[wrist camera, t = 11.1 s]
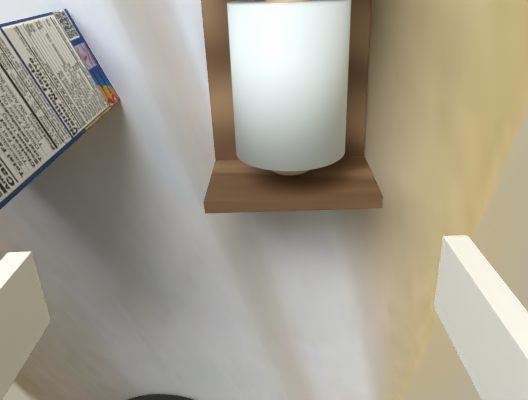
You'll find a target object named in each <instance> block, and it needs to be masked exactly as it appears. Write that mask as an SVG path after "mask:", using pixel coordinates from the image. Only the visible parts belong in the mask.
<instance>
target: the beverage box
mask: <svg viewBox="0 0 528 400" xmlns="http://www.w3.org/2000/svg"><path fill="white" fill-rule="evenodd" d="M119 100H120V99H119V97H118V95H117V94H116V92H115V90H114V89H113V87H112V85H111V84H110V82H109V80H108V79H107V77H106V75H105V74H104V72H103V70H102V69H101V67H100V65H99V63H98V62H97V60H96V58H95V57H94V55H93V53H92V52H91V50H90V48H89V47H88V45H87V43H86V42H85V40H84V38H83V37H82V35H81V33H80V32H79V30H78V28H77V26H76V25H75V23H74V21H73V20H72V18H71V16H70V15H69V13H68V11H67V10H66V9H63V10H59V11H55V12H50V13H46V14H42V15H38V16H34V17H29V18H25V19H21V20H17V21H12V22H8V23H4V24H0V209H1V208H2V207H4V206H5V205H6V204H7V203H8V202H9V201H10V200H11V199H12V198H13V197H14V196H16V195H17V194H18V193H19V192H20V191H21V190H22V189H23V188H24V187H25V186H27V185H28V184H29V183H30V182H31V181H32V180H33V179H34V178H35V177H36V176H37V175H39V174H40V173H41V172H42V171H43V170H44V169H45V168H46V167H47V166H48V165H49V164H51V163H52V162H53V161H54V160H55V159H56V158H57V157H58V156H59V155H60V154H61V153H63V152H64V151H65V150H66V149H67V148H68V147H69V146H70V145H71V144H72V143H74V142H75V141H76V140H77V139H78V138H79V137H80V136H81V135H82V134H83V133H84V132H86V131H87V130H88V129H89V128H90V127H91V126H92V125H93V124H94V123H95V122H96V121H98V120H99V119H100V118H101V117H102V116H103V115H104V114H105V113H106V112H107V111H108V110H110V109H111V108H112V107H113V106H114V105H115V104H116V103H117V102H118V101H119Z"/></svg>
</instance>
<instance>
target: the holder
mask: <svg viewBox="0 0 528 400" xmlns="http://www.w3.org/2000/svg"><path fill="white" fill-rule="evenodd" d="M231 1H236V0H201V6H202V17H203V28H204V38H205V49H206V60H207V71H208V82H209V93H210V104H211V115H212V125H213V136H214V147H215V158H216V161H215V165H214V168H213V172H212V175H211V179H210V182H209V186H208V189H207V193H206V196H205V200H204V208H205V213H231V212H264V211H297V210H330V209H363V208H382V199H383V196H382V194H381V192H380V189H379V187H378V185H377V183H376V181H375V179H374V176H373V174H372V172H371V170H370V168H369V166H368V163H367V161H366V159H365V157H364V142H365V121H366V100H367V80H368V59H369V38H370V18H371V0H351V17H350V41H349V65H348V89H347V114H346V138H345V154H344V156H343V157H342V158H341V159H340V160H338V161H337V162H335V163H333V164H331V165H328V166H325V167H321V168H317V169H312V170H309V171H307V172H306V173H303V174H299V175H281V174H277V173H275V172H273V171H272V170H265V169H260V168H256V167H253V166H250V165H248V164H245V163H244V162H242V161H241V160H239V158H238V157H237V155H236V142H235V125H234V109H233V93H232V77H231V60H230V44H229V28H228V12H227V3H228V2H231Z"/></svg>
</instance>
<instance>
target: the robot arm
mask: <svg viewBox="0 0 528 400" xmlns="http://www.w3.org/2000/svg"><path fill="white" fill-rule="evenodd" d="M434 308H435V310H436V312H437V314H438V316H439V318H440V320H441V322H442V324H443V326H444V327H445V330H446V332H447V333H448V335H449V337H450V339H451V341H452V343H453V345H454V347H455V349H456V351H457V353H458V355H459V357H460V358H461V361H462V363H463V365H464V366H465V368H466V370H467V372H468V374H469V376H470V378H471V380H472V382H473V384H474V386H475V387H476V390H477V392H478V394H479V395H480V397H481V399H482V400H528V312H527V311H526V309H525V308H524V307H523V306H522V304H521V303H520V302H519V301H518V299H517V298H516V297H515V295H514V294H513V293H512V292H511V290H510V289H509V288H508V286H507V285H506V284H505V283H504V282H503V280H502V279H501V278H500V276H499V275H498V274H497V272H496V271H495V270H494V269H493V267H492V266H491V265H490V264H489V262H488V261H487V260H486V258H485V257H484V256H483V255H482V253H481V252H480V251H479V250H478V248H477V247H476V246H475V244H474V243H473V242H472V241H471V239H470V238H469V237H468V236H467V235H460V236H443V240H442V248H441V256H440V264H439V272H438V280H437V288H436V296H435V305H434ZM50 321H51V320H50V317H49V313H48V309H47V306H46V302H45V298H44V295H43V291H42V288H41V284H40V280H39V277H38V273H37V269H36V266H35V262H34V258H33V255H32V252H8V253H7V254H6V255H5V256H4V257H3V258H2V259H1V261H0V400H2V399H3V398H4V396H5V394H6V393H7V391H8V389H9V388H10V386H11V385H12V383H13V381H14V380H15V378H16V377H17V375H18V373H19V372H20V370H21V368H22V367H23V365H24V364H25V362H26V360H27V359H28V357H29V355H30V354H31V352H32V351H33V349H34V347H35V346H36V344H37V342H38V341H39V339H40V338H41V336H42V334H43V333H44V331H45V329H46V328H47V326H48V324H49V323H50ZM129 400H191V399H188V398H184V397H180V396H174V395H145V396H139V397H135V398H132V399H129Z"/></svg>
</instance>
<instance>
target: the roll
mask: <svg viewBox="0 0 528 400" xmlns="http://www.w3.org/2000/svg"><path fill="white" fill-rule="evenodd" d="M227 12H228V28H229V44H230V60H231V77H232V93H233V109H234V125H235V142H236V155H237V157H238V158H239V160H241V161H242V162H244V163H245V164H248V165H250V166H253V167H256V168H260V169H265V170H272V171H273V172H275V173H277V174H281V175H299V174H303V173H306V172H307V171H309V170H312V169H317V168H321V167H325V166H328V165H331V164H333V163H335V162H337V161H338V160H340V159H341V158H342V157H343V156H344V154H345V138H346V114H347V89H348V65H349V41H350V17H351V0H236V1H231V2H228V3H227Z"/></svg>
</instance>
